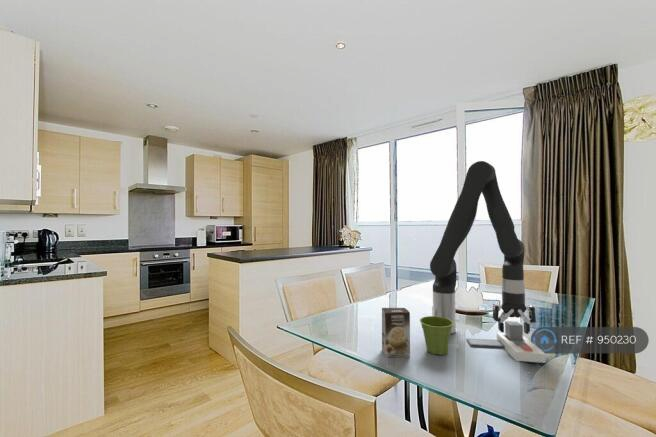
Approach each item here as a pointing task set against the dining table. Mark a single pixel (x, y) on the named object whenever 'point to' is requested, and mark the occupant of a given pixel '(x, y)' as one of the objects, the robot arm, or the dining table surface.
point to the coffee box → (396, 332)
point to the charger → (513, 331)
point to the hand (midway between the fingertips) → (514, 332)
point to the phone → (485, 343)
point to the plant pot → (436, 333)
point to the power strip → (522, 349)
